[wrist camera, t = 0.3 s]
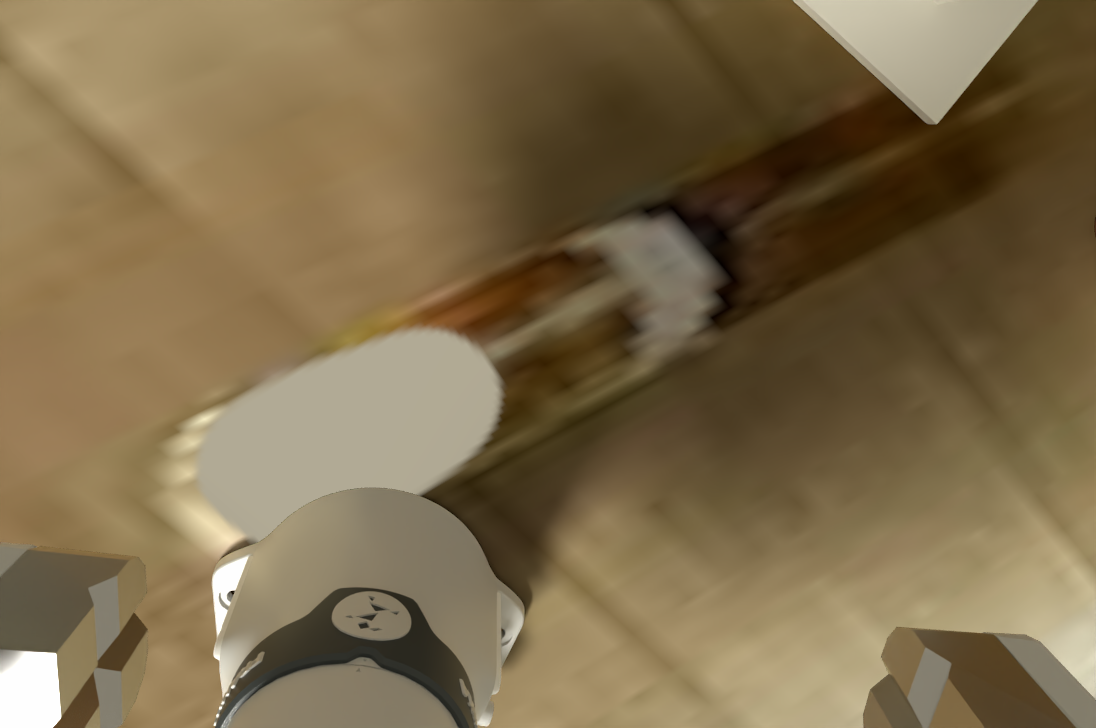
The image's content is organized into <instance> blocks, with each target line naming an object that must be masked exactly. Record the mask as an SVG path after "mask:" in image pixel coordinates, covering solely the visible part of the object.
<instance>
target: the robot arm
mask: <svg viewBox="0 0 1096 728" xmlns="http://www.w3.org/2000/svg"><path fill="white" fill-rule="evenodd" d="M212 589H213V600H214V610H215V621H216V631H217V640H216V643H215V647H214V657H215V658H216V659H218V660H219V663H220V679H221V686H222V694H223V699H222V702H221V704H220V707H219V710H218V713H217V715H216V719H215V722H214V726H215V728H477V725H480V726H488V725H489V723H490V721H491V719H492V715H493V711H494V703H493V702H492V701H490V698H491V695H493V694H496V693H498V691H499V688H500V683H501V668H502V666H503V664H504V662H505V660H506V658H507V656H508V654H509V652H510V650H511V648H512V646H513V644H514V642H515V640H516V638H517V636H518V634H519V632H520V630H521V628H522V626H523V623H524V614H525V608H524V605H523V603H522V601H521V600H520V598H519V597H518V596H517V595H516V594H515V593H514V592H513V591H512V590H511V589H509V588H508V587H507V586H506V585H505V584H504V583H502V582H501V581H500V580H499V579H497V578H496V576H495V575H494V573H493V572H492V570H491V568H490V566H489V564H488V561H487V559H486V557H485V555H484V552H483V550H482V548H481V547H480V545H479V543H478V542H477V540H476V538H475V537H474V536H473V534H472V533H471V532H470V531H469V529H468V528H467V527H466V526H465V525H464V524H463V523H462V522H461V521H460V520H459V519H458V518H457V517H455V516H454V515H453V514H452V513H450V512H449V511H447V510H446V509H444V508H443V507H441V506H439V505H438V504H436V503H434V502H432V501H430V500H428V499H425V498H423V497H421V496H418V495H415V494H412V493H408V492H404V491H399V490H394V489H387V488H357V489H350V490H345V491H340V492H336V493H332V494H329V495H326V496H323V497H321V498H319V499H316V500H314V501H312V502H310V503H308V504H307V505H305V506H303V507H301V508H300V509H298V510H297V511H295V512H294V513H293V514H291V515H290V516H289V517H287V518H286V519H285V520H284V521H283V522H282V523H281V524H280V525H279V526H278V527H277V528H276V529H275V530H274V531H272V533H270V534H269V535H268V536H267V537H266V538H264V539H263V540H261V541H260V542H258V543H255V544H252V545H249V546H247V547H244V548H242V549H239V550H237V551H234V552H232V553H230V554H228V555H226V556H225V557H223V558H222V559H221V560H219V562H218V563H217V564H216V567H215V570H214V573H213V576H212ZM233 590H235V592H234V595H232V594H231V592H230V591H233ZM146 594H147V584H146V567H145V564H144V563H143V562H142V561H141V559H140V558H139V557H136V556H127V555H118V554H109V553H100V552H91V551H82V550H73V549H64V548H55V547H46V546H39V547H37V546H34V545H28V544H16V543H5V542H0V728H117V727H119V726H120V725H122V724H123V722H124V721H125V719H126V717H127V715H128V713H129V712H130V710H131V708H132V706H133V705H134V703H135V701H136V698H137V695H138V692H139V689H140V686H141V683H142V680H143V677H144V674H145V668H146V661H147V654H148V629H147V628H146V627H145V625H144V624H143V623H142V622H141V620H140V619H139V618H138V617H137V615H136V614H135V613H134V612H135V610H136V609H137V607H138V606H139V604H140V603H141V601H142V600H143V598H144V597H145V595H146ZM501 628H502V629H504V630H503V631H501ZM881 658H882V660H883V662H884V665H885V667H886V669H887V671H888V675H887V676H886V677H885V678H883V679H882V680H881V681H880V682H879V683H877V684H876V685H875V686H874V687H872V688H871V689H870V692H869V696H868V699H867V703H866V706H865V710H864V713H863V723H864V728H1096V700H1095V699H1094V698H1093V696H1092V695H1091V694H1090V693H1089V692H1088V691H1087V690H1086V689H1085V688H1084V687H1083V686H1082V685H1081V684H1080V683H1079V682H1078V681H1077V680H1076V679H1075V678H1074V677H1073V676H1072V674H1071V673H1070V672H1069V671H1068V670H1067V669H1066V668H1065V667H1064V666H1063V665H1062V664H1061V663H1060V662H1059V661H1058V660H1057V659H1056V658H1055V657H1054V656H1053V655H1052V653H1051V652H1050V651H1049V650H1048V649H1047V648H1046V647H1045V646H1044V645H1043V644H1042V643H1041V642H1040V641H1038V640H1036V639H1034V638H1032V637H1029V636H1027V635H1022V634H1004V633H986V632H983V633H972V632H959V631H945V630H932V629H919V628H905V627H896V628H895V630H894V631H893V632H892V633H891V634H890V636H889V637H888V638H887V641H886V644H885V647H884V650H883V652H882V655H881Z"/></svg>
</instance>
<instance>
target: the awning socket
mask: <svg viewBox="0 0 1096 728" xmlns="http://www.w3.org/2000/svg"><path fill="white" fill-rule="evenodd" d="M793 1H794V2H795V3H796V4H797V5H798V6H799V7H800V8H801V9H802V10H804V11H805V12H806V13H807V14H808V15H809V16H810V17H811V18H812V19H813V20H814V21H816V22H817V23H818V24H819V25H820V26H821V27H822V28H823V29H824V30H825V31H826V32H827V33H829V34H830V35H831V36H832V37H833V38H834V39H835V40H836V41H837V42H838V43H839V44H841V45H842V46H843V47H844V48H845V49H846V50H847V51H848V52H849V53H850V54H851V55H853V56H854V57H855V58H856V59H857V60H858V61H859V62H860V63H861V64H862V65H863V66H864V67H866V68H867V69H868V70H869V71H870V72H871V73H872V74H873V75H874V76H875V77H876V78H878V79H879V80H880V81H881V82H882V83H883V84H884V85H885V86H886V87H887V88H888V89H890V90H891V91H892V92H893V93H894V94H895V95H896V96H897V97H898V98H899V99H900V100H901V101H903V102H904V103H905V104H906V105H907V106H908V107H909V108H910V109H911V110H912V111H913V112H915V113H916V114H917V115H918V116H919V117H920V118H921V119H922V120H923V121H924V122H925V123H927V124H938V123H939V121H940V120H941V119H942V118H943V116H944V115H945V114H946V113H947V111H948V110H949V109H950V108H951V107H952V105H953V104H954V103H955V102H956V100H957V99H958V98H959V97H960V96H961V94H962V93H963V92H964V91H965V89H966V88H967V87H968V86H969V84H970V83H971V82H972V81H973V80H974V78H975V77H976V76H977V75H978V73H979V72H980V71H981V70H982V69H983V67H984V66H985V65H986V64H987V62H988V61H989V60H990V59H991V57H992V56H993V55H994V54H995V53H996V51H997V50H998V49H999V48H1000V46H1001V45H1002V44H1003V43H1004V42H1005V40H1006V39H1007V38H1008V37H1009V35H1010V34H1011V33H1012V32H1013V30H1014V29H1015V28H1016V27H1017V26H1018V24H1019V23H1020V22H1021V21H1022V19H1023V18H1024V17H1025V16H1026V15H1027V13H1028V12H1029V11H1030V10H1031V8H1032V7H1033V6H1034V5H1035V3H1036V2H1037V1H1038V0H793Z"/></svg>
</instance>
